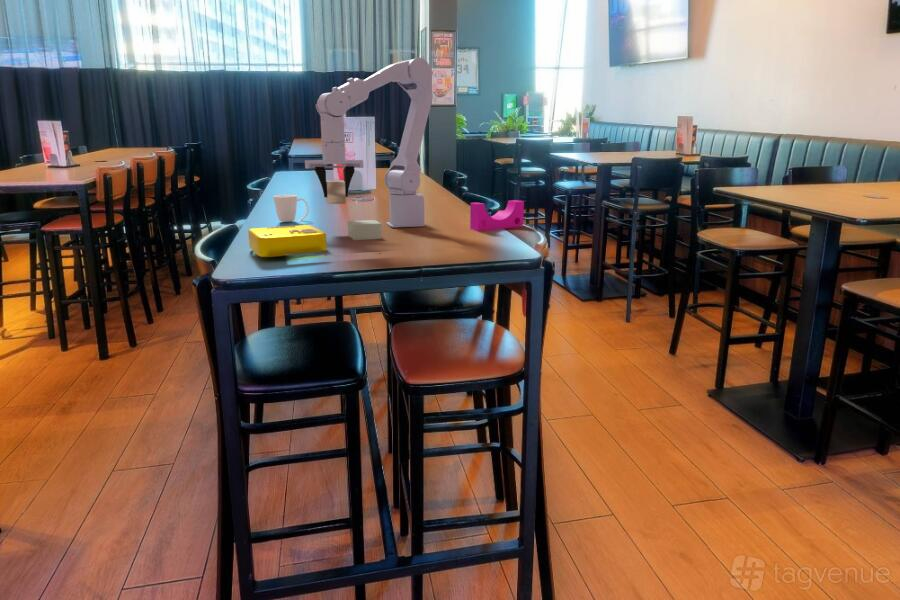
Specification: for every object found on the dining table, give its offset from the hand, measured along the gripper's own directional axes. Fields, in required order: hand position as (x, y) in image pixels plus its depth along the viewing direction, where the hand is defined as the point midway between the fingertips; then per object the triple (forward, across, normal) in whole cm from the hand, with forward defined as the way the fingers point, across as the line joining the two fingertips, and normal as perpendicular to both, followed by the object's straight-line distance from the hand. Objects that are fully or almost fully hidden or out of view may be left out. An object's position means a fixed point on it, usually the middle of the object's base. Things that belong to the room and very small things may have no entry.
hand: (335, 196), depth 157 cm
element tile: (+10, +13, +20) cm, 26 cm away
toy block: (+10, -43, +2) cm, 44 cm away
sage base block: (+10, -6, +8) cm, 14 cm away
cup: (+10, +11, -21) cm, 25 cm away
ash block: (+2, 0, 0) cm, 2 cm away
